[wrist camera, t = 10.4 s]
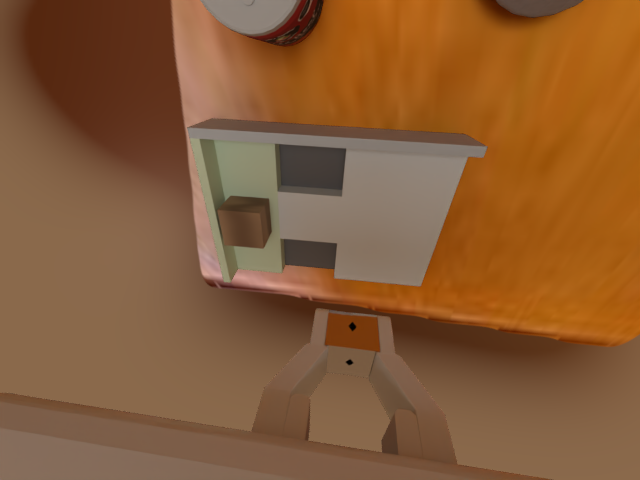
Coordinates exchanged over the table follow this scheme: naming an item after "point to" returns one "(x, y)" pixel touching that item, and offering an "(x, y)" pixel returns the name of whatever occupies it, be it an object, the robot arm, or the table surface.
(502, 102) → the table surface
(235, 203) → the walnut block
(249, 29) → the canned food
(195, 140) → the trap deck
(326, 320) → the robot arm
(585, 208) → the table surface
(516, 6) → the coffee pot
